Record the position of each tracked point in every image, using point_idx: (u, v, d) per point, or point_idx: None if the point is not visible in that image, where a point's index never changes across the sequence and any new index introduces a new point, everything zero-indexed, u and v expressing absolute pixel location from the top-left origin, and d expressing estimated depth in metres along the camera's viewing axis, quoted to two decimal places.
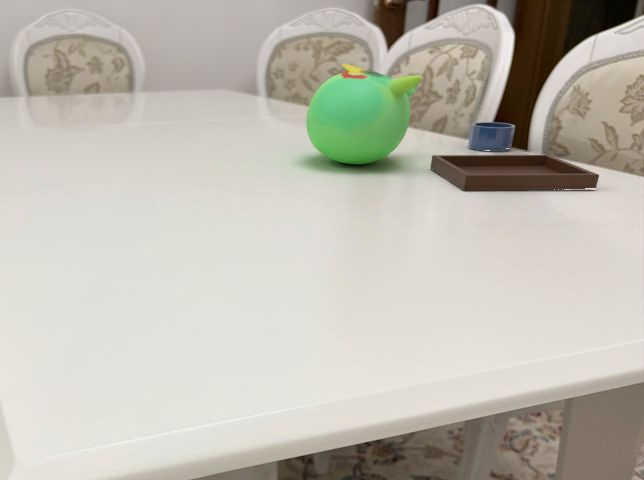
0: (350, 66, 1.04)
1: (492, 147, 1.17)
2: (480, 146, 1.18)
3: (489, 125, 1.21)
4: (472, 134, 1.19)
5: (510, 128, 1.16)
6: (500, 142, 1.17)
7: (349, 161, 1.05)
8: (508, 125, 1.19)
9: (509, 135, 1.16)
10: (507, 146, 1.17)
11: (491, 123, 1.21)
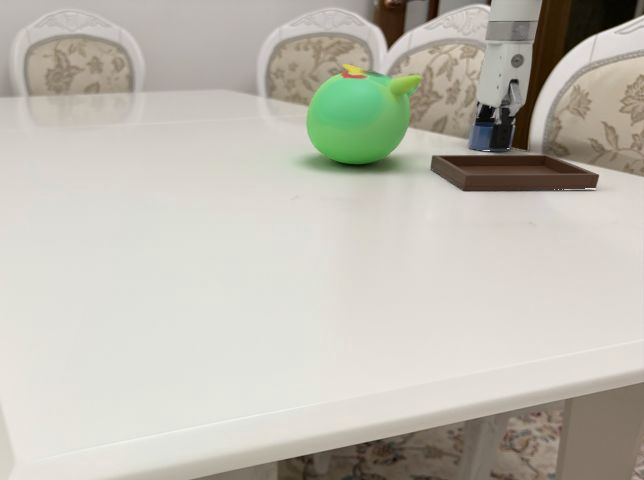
0: (350, 66, 1.04)
1: None
2: (480, 146, 1.18)
3: (489, 125, 1.21)
4: (472, 134, 1.19)
5: None
6: None
7: (349, 161, 1.05)
8: None
9: None
10: None
11: (491, 123, 1.21)
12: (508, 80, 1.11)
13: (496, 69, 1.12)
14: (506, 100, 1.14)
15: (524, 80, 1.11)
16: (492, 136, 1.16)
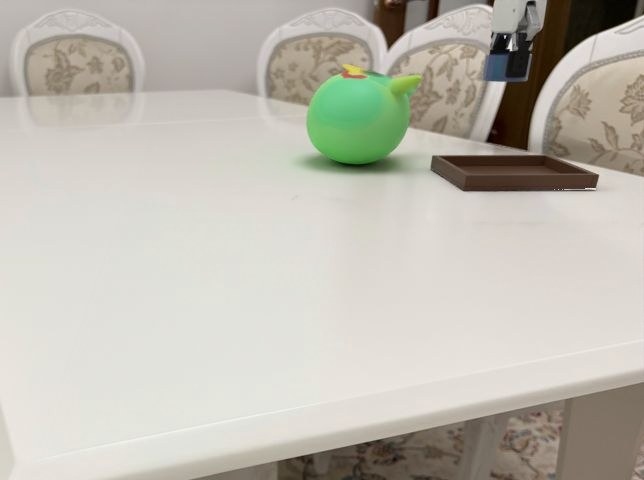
0: (350, 66, 1.04)
1: None
2: (495, 76, 1.13)
3: None
4: (486, 65, 1.14)
5: None
6: None
7: (349, 161, 1.05)
8: None
9: None
10: None
11: (506, 54, 1.16)
12: (525, 2, 1.06)
13: None
14: (522, 25, 1.09)
15: (541, 1, 1.06)
16: (508, 64, 1.10)
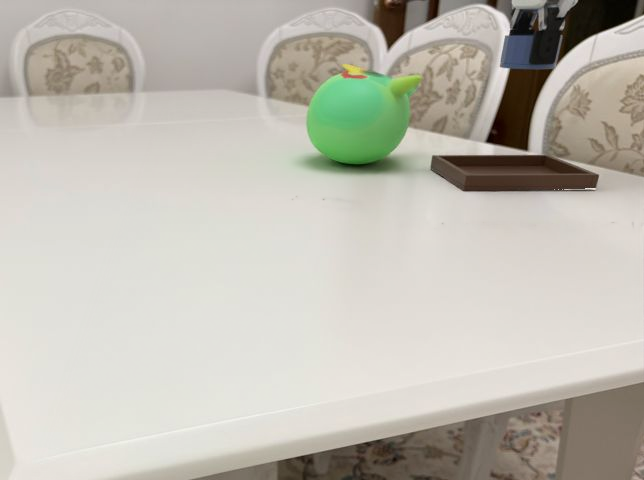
0: (350, 66, 1.04)
1: None
2: (516, 62, 0.91)
3: None
4: (505, 48, 0.92)
5: None
6: None
7: (349, 161, 1.05)
8: None
9: None
10: None
11: (530, 36, 0.94)
12: None
13: None
14: None
15: None
16: (533, 47, 0.89)
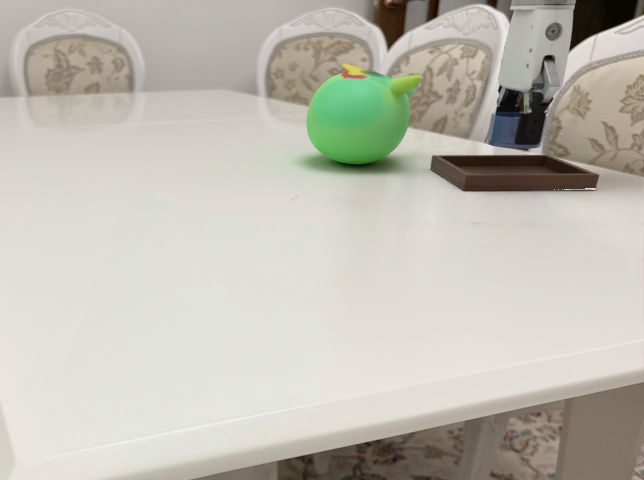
0: (350, 66, 1.04)
1: None
2: (503, 141, 0.94)
3: (513, 115, 0.97)
4: (492, 126, 0.95)
5: None
6: None
7: (349, 161, 1.05)
8: None
9: None
10: None
11: (516, 113, 0.97)
12: (541, 56, 0.86)
13: (525, 43, 0.88)
14: (537, 83, 0.89)
15: (562, 56, 0.86)
16: (519, 129, 0.91)
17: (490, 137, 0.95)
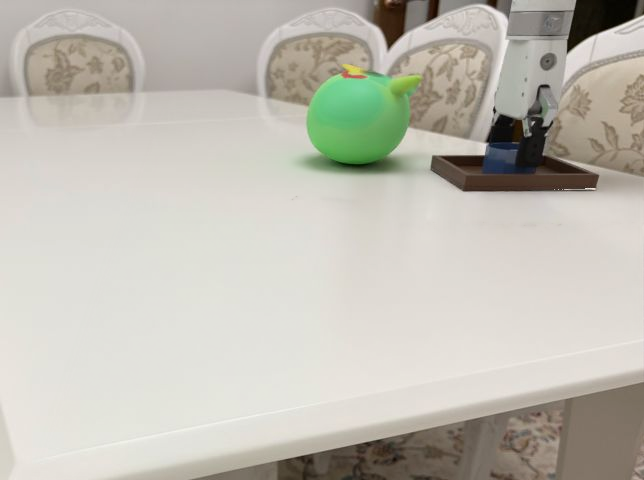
0: (350, 66, 1.04)
1: None
2: (497, 173, 0.95)
3: (507, 146, 0.99)
4: (486, 158, 0.97)
5: None
6: (522, 168, 0.94)
7: (349, 161, 1.05)
8: None
9: None
10: (530, 173, 0.95)
11: (510, 143, 0.99)
12: (536, 86, 0.88)
13: (521, 72, 0.89)
14: (533, 111, 0.91)
15: (556, 86, 0.88)
16: (519, 152, 0.92)
17: (485, 168, 0.97)
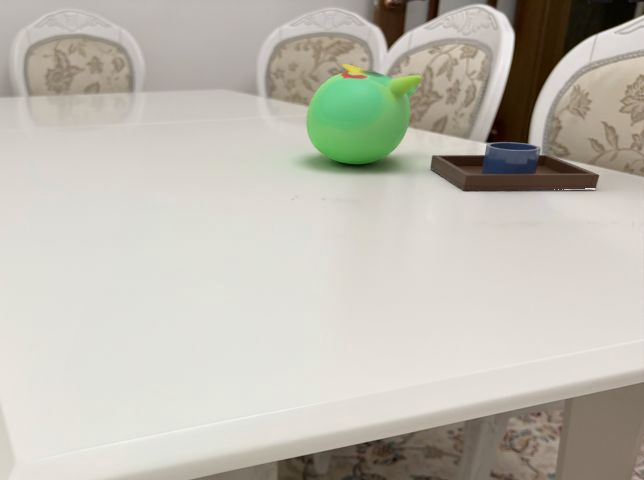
0: (350, 66, 1.04)
1: None
2: (497, 173, 0.95)
3: (507, 146, 0.99)
4: (486, 158, 0.97)
5: (535, 151, 0.93)
6: (522, 168, 0.94)
7: (349, 161, 1.05)
8: (531, 146, 0.97)
9: (533, 159, 0.94)
10: (530, 173, 0.95)
11: (510, 143, 0.99)
12: None
13: None
14: None
15: None
16: None
17: (485, 168, 0.97)
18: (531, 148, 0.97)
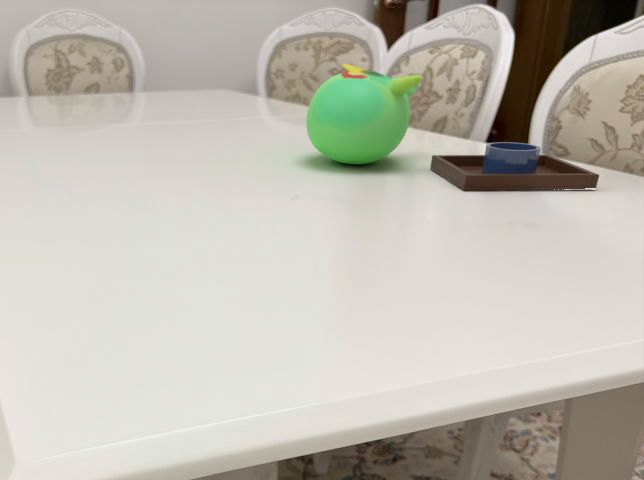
0: (350, 66, 1.04)
1: None
2: (497, 173, 0.95)
3: (507, 146, 0.99)
4: (486, 158, 0.97)
5: (535, 151, 0.93)
6: (522, 168, 0.94)
7: (349, 161, 1.05)
8: (531, 146, 0.97)
9: (533, 159, 0.94)
10: (530, 173, 0.95)
11: (510, 143, 0.99)
12: None
13: None
14: None
15: None
16: None
17: (485, 168, 0.97)
18: (531, 148, 0.97)
